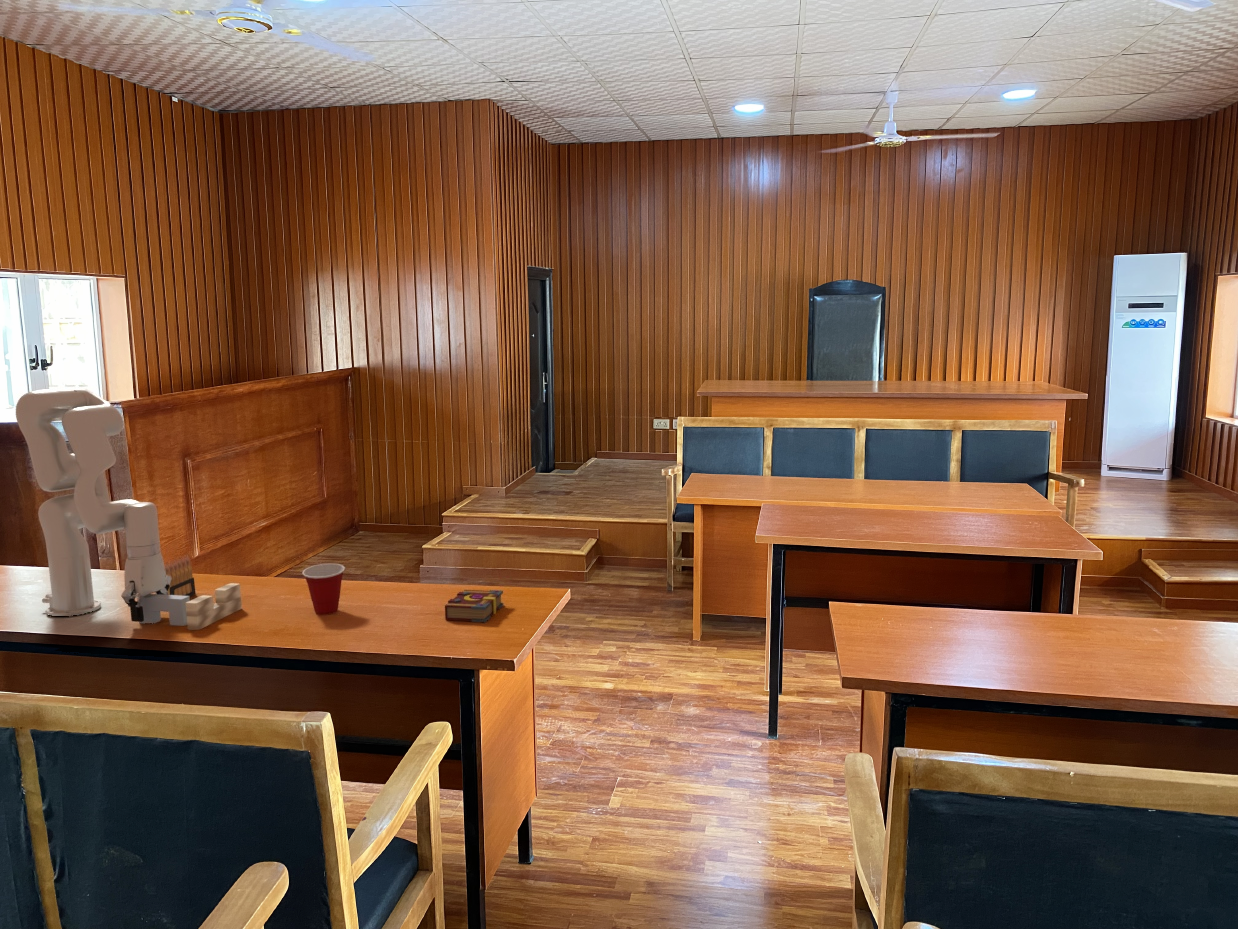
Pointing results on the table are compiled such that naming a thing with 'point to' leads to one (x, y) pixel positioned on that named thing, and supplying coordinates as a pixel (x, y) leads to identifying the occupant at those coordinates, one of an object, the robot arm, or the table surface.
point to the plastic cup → (324, 586)
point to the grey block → (165, 608)
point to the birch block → (213, 606)
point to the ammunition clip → (181, 577)
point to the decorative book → (473, 605)
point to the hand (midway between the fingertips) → (149, 615)
